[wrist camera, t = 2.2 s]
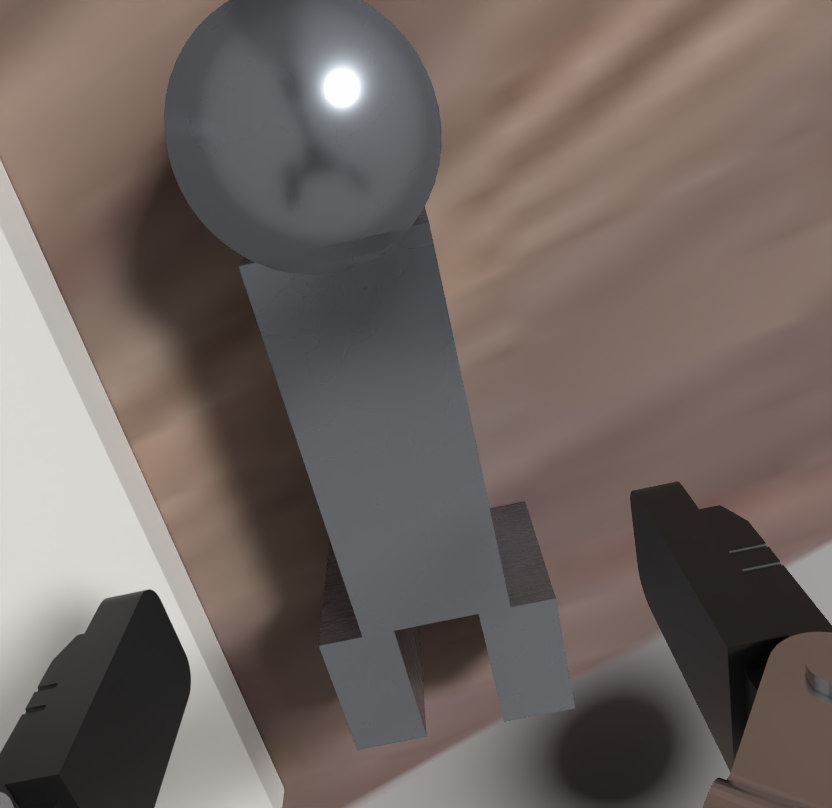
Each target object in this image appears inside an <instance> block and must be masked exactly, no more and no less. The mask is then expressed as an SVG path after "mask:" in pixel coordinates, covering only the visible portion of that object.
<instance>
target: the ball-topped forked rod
mask: <svg viewBox="0 0 832 808" xmlns="http://www.w3.org/2000/svg"><path fill="white" fill-rule="evenodd" d="M164 128H165V139H166V146H167V152H168V156H169V160H170V163H171V167H172V170H173V173H174V176H175V178H176V180H177V183H178V185H179V187H180V190H181V191H182V193H183V195H184V197H185V199H186V200H187V202H188V204H189V206H190V207H191V208H192V210H193V211H194V212H195V214H196V215H197V216H198V218H199V219H200V221H201V222H202V223H203V224H204V225H205V226H206V227H207V228H208V229H209V230H210V231H211V232H212V233H213V235H215V236H216V237H217V238H218V239H219V240H221V241H222V242H223V243H224V244H225V245H227V246H228V247H229V248H231V249H232V250H234V251H235V252H237V253H239V254H240V255H242V256H243V257H244V259H243V260H242V262H241V263H240V265H239V266H238V267H239V270H240V273H241V276H242V279H243V282H244V285H245V288H246V291H247V294H248V297H249V300H250V303H251V306H252V309H253V312H254V315H255V318H256V321H257V324H258V327H259V330H260V333H261V336H262V339H263V342H264V345H265V348H266V351H267V354H268V357H269V359H270V362H271V365H272V368H273V371H274V374H275V377H276V380H277V383H278V386H279V389H280V392H281V395H282V398H283V401H284V404H285V407H286V410H287V413H288V416H289V419H290V422H291V425H292V428H293V431H294V434H295V437H296V440H297V443H298V446H299V449H300V452H301V455H302V458H303V461H304V464H305V467H306V470H307V473H308V476H309V479H310V482H311V485H312V488H313V491H314V494H315V497H316V500H317V503H318V506H319V509H320V512H321V515H322V518H323V521H324V524H325V527H326V530H327V533H328V536H329V539H330V542H329V552H328V561H327V571H326V581H325V590H324V600H323V610H322V619H321V629H320V639H319V648H320V651H321V653H322V656H323V659H324V662H325V664H326V667H327V670H328V672H329V675H330V678H331V680H332V683H333V686H334V688H335V691H336V694H337V696H338V699H339V702H340V705H341V707H342V710H343V713H344V715H345V718H346V721H347V723H348V726H349V729H350V731H351V734H352V737H353V739H354V742H355V745H356V748H357V750H360V749H365V748H370V747H375V746H381V745H386V744H391V743H396V742H401V741H407V740H412V739H417V738H422V737H427V735H426V720H425V705H424V690H423V675H422V660H421V645H420V630H419V626H421V625H426V624H431V623H436V622H441V621H446V620H451V619H456V618H461V617H466V616H471V615H476V614H479V618H480V622H481V626H482V630H483V634H484V639H485V643H486V647H487V651H488V655H489V660H490V664H491V668H492V672H493V676H494V680H495V685H496V689H497V693H498V697H499V701H500V706H501V710H502V714H503V718H504V722H505V721H511V720H515V719H521V718H526V717H531V716H536V715H542V714H547V713H552V712H557V711H562V710H568V709H573V708H575V705H574V699H573V693H572V688H571V682H570V676H569V671H568V665H567V659H566V654H565V648H564V642H563V637H562V631H561V625H560V619H559V614H558V608H557V602H556V597H555V594H554V591H553V588H552V585H551V582H550V579H549V575H548V572H547V569H546V566H545V563H544V560H543V557H542V553H541V550H540V547H539V544H538V541H537V538H536V535H535V531H534V528H533V525H532V522H531V519H530V516H529V513H528V509H527V506H526V503H525V502H521V503H516V504H511V505H506V506H502V507H497V508H492V509H490V508H489V503H488V498H487V494H486V489H485V484H484V479H483V475H482V470H481V465H480V461H479V456H478V451H477V447H476V442H475V437H474V432H473V428H472V423H471V418H470V414H469V409H468V404H467V399H466V395H465V390H464V385H463V381H462V376H461V371H460V366H459V362H458V357H457V352H456V348H455V343H454V338H453V333H452V329H451V324H450V319H449V315H448V310H447V305H446V301H445V296H444V291H443V286H442V282H441V277H440V272H439V268H438V263H437V258H436V253H435V249H434V244H433V239H432V235H431V230H430V225H429V221H428V217H427V214H426V210H425V204H426V202H427V200H428V198H429V196H430V193H431V191H432V188H433V185H434V183H435V179H436V175H437V171H438V167H439V161H440V153H441V122H440V115H439V108H438V104H437V100H436V96H435V92H434V89H433V86H432V84H431V81H430V78H429V76H428V73H427V71H426V69H425V67H424V65H423V64H422V62H421V60H420V58H419V56H418V54H417V53H416V51H415V50H414V49H413V47H412V46H411V44H410V43H409V42H408V40H407V39H406V38H405V36H404V35H403V34H402V33H401V32H400V31H399V30H398V29H397V28H396V27H395V26H394V25H393V24H392V23H391V22H390V21H389V20H388V19H387V18H385V17H384V16H383V15H382V14H380V13H379V12H378V11H377V10H376V9H374V8H372V7H371V6H369V5H367V4H366V3H364V2H363V1H361V0H230V1H228V2H226V3H225V4H223V5H222V6H221V7H219V8H218V9H217V10H215V11H214V12H212V13H211V14H210V15H209V16H208V17H207V18H206V19H205V20H204V21H203V22H202V23H201V24H200V25H199V26H198V27H197V28H196V30H195V31H194V32H193V34H192V35H191V37H190V38H189V39H188V41H187V42H186V44H185V45H184V47H183V49H182V51H181V53H180V55H179V56H178V58H177V60H176V63H175V66H174V68H173V71H172V74H171V76H170V80H169V85H168V89H167V93H166V100H165V111H164Z"/></svg>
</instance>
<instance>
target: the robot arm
mask: <svg viewBox="0 0 832 808" xmlns="http://www.w3.org/2000/svg"><path fill="white" fill-rule="evenodd" d="M630 501H631V511H632V519H633V528H634V537H635V545H636V554H637V563H638V570H639V575H640V580H641V584H642V587H643V591H644V594H645V597H646V600H647V602H648V605H649V607H650V609H651V611H652V613H653V615H654V617H655V619H656V621H657V623H658V625H659V627H660V629H661V631H662V634H663V636H664V638H665V640H666V642H667V644H668V646H669V648H670V650H671V652H672V654H673V656H674V658H675V660H676V662H677V664H678V666H679V668H680V670H681V672H682V674H683V676H684V678H685V680H686V682H687V684H688V687H689V688H690V690H691V692H692V695H693V697H694V699H695V701H696V703H697V705H698V707H699V709H700V711H701V713H702V715H703V717H704V719H705V721H706V723H707V725H708V727H709V729H710V731H711V733H712V735H713V737H714V739H715V742H716V744H717V745H718V748H719V750H720V752H721V754H722V756H723V758H724V760H725V762H726V764H727V766H728V768H729V770H730V775H729V777H728V779H727V780H724V779H722V778H717V779H716V780H715V781H714V782H713V784H712V786H711V788H710V790H709V792H708V795H707V797H706V800H705V802H704V805H703V808H832V625H831V624H830V623H829V622H828V620H827V619H826V618H825V617H824V615H823V614H822V613H821V612H820V610H819V609H818V608H817V607H816V605H815V604H814V603H813V602H812V600H811V599H810V598H809V597H808V595H807V594H806V593H805V592H804V590H803V589H802V588H801V587H800V585H799V584H798V583H797V582H796V581H795V579H794V578H793V577H792V575H791V574H790V573H789V572H788V570H787V569H786V568H785V567H784V565H782V566H781V564H780V560H779V559H778V558H777V557H776V555H775V554H774V553H773V552H772V550H771V549H770V548H769V547H766V544H765V542H764V540H763V539H762V538H761V537H760V535H759V534H758V533H757V532H756V530H755V529H754V528H753V527H752V525H751V524H750V523H749V522H748V521H747V520H745V519H744V518H742V517H740V516H738V515H736V514H735V513H733V512H731V511H729V510H728V509H726V508H724V507H722V506H720V505H719V506H714V507H709V508H704V509H698V507H697V506H696V504H695V503H694V501H693V500H692V499H691V497H690V496H689V494H688V493H687V492H686V490H685V489H684V487H683V486H682V485H681V484H680V483H679V482H673V483H668V484H663V485H658V486H653V487H649V488H644V489H639V490H634V491H632V492H631V496H630ZM190 689H191V673H190V666H189V662H188V659H187V656H186V654H185V652H184V649H183V647H182V645H181V643H180V641H179V638H178V636H177V634H176V632H175V630H174V628H173V625H172V623H171V621H170V619H169V617H168V615H167V612H166V610H165V608H164V606H163V604H162V602H161V600H160V598H159V596H158V595H157V593H156V592H155V591H153V590H150V589H148V590H143V591H139V592H134V593H129V594H124V595H119V596H114V597H110V598H106V599H104V600H103V601H102V602H101V604H100V605H99V607H98V609H97V611H96V613H95V615H94V616H93V618H92V620H91V622H90V624H89V626H88V628H87V630H86V632H85V633H84V634H80V635H77V636H76V637H75V638H74V639H73V640H72V641H71V642H70V643H69V644H68V645H67V646H66V647H65V648H64V649H63V650H62V651H61V652H60V653H59V654H58V655H57V656H56V657H55V658H54V659H53V660H52V662H51V664H50V665H49V667H48V669H47V671H46V673H45V674H44V676H43V678H42V680H41V681H40V683H39V685H38V692H34V694H33V696H32V697H31V699H30V701H29V703H28V705H27V706H26V708H25V710H26V713H25V714H22V715H21V717H20V719H19V721H18V722H17V724H16V726H15V728H14V729H13V731H12V733H11V735H10V737H9V738H8V740H7V742H6V744H5V745H4V747H3V749H2V751H1V753H0V808H154V807H155V804H156V801H157V798H158V795H159V791H160V788H161V785H162V782H163V779H164V775H165V772H166V769H167V766H168V763H169V759H170V756H171V753H172V750H173V747H174V743H175V740H176V737H177V734H178V731H179V727H180V724H181V721H182V718H183V714H184V711H185V708H186V705H187V702H188V698H189V695H190Z"/></svg>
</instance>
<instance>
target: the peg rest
mask: <svg viewBox="0 0 832 808" xmlns="http://www.w3.org/2000/svg"><path fill="white" fill-rule="evenodd" d="M148 589H150V590H153V591H155V592H156V593H157V595H158V596H159V598H160V600H161V602H162V604H163V606H164V608H165V610H166V612H167V615H168V617H169V619H170V621H171V623H172V625H173V628H174V630H175V632H176V634H177V636H178V638H179V641H180V643H181V645H182V647H183V649H184V652H185V654H186V656H187V659H188V662H189V666H190V673H191V689H190V695H189V698H188V702H187V705H186V708H185V711H184V714H183V718H182V721H181V724H180V727H179V731H178V734H177V737H176V740H175V743H174V747H173V750H172V753H171V756H170V759H169V763H168V766H167V769H166V772H165V775H164V779H163V782H162V785H161V788H160V791H159V795H158V798H157V801H156V804H155V807H154V808H282V803H283V796H284V787H283V785H282V783H281V780H280V778H279V776H278V774H277V772H276V769H275V767H274V765H273V763H272V761H271V758H270V756H269V754H268V752H267V749H266V747H265V745H264V743H263V741H262V738H261V736H260V734H259V732H258V729H257V727H256V725H255V723H254V721H253V718H252V716H251V714H250V712H249V710H248V707H247V705H246V703H245V701H244V698H243V696H242V694H241V692H240V690H239V687H238V685H237V683H236V681H235V679H234V676H233V674H232V672H231V670H230V667H229V665H228V663H227V661H226V659H225V656H224V654H223V652H222V650H221V648H220V645H219V643H218V641H217V639H216V636H215V634H214V632H213V630H212V628H211V625H210V623H209V621H208V619H207V616H206V614H205V612H204V610H203V608H202V605H201V603H200V601H199V599H198V597H197V594H196V592H195V590H194V588H193V585H192V583H191V581H190V579H189V577H188V574H187V572H186V570H185V568H184V566H183V563H182V561H181V559H180V557H179V554H178V552H177V550H176V548H175V546H174V543H173V541H172V539H171V537H170V535H169V532H168V530H167V528H166V526H165V523H164V521H163V519H162V517H161V515H160V512H159V510H158V508H157V506H156V503H155V501H154V499H153V497H152V495H151V492H150V490H149V488H148V486H147V484H146V481H145V479H144V477H143V475H142V472H141V470H140V468H139V466H138V464H137V461H136V459H135V457H134V455H133V453H132V450H131V448H130V446H129V444H128V441H127V439H126V437H125V435H124V433H123V430H122V428H121V426H120V424H119V421H118V419H117V417H116V415H115V413H114V410H113V408H112V406H111V404H110V402H109V399H108V397H107V395H106V393H105V390H104V388H103V386H102V384H101V382H100V379H99V377H98V375H97V373H96V371H95V368H94V366H93V364H92V362H91V359H90V357H89V355H88V353H87V351H86V348H85V346H84V344H83V342H82V340H81V337H80V335H79V333H78V331H77V328H76V326H75V324H74V322H73V320H72V317H71V315H70V313H69V311H68V308H67V306H66V304H65V302H64V300H63V297H62V295H61V293H60V291H59V289H58V286H57V284H56V282H55V280H54V277H53V275H52V273H51V271H50V269H49V266H48V264H47V262H46V260H45V258H44V255H43V253H42V251H41V249H40V246H39V244H38V242H37V240H36V238H35V235H34V233H33V231H32V229H31V227H30V224H29V222H28V220H27V218H26V215H25V213H24V211H23V209H22V207H21V204H20V202H19V200H18V198H17V195H16V193H15V191H14V189H13V187H12V184H11V182H10V180H9V178H8V176H7V173H6V171H5V169H4V167H3V164H2V162H1V160H0V753H1V751H2V749H3V747H4V745H5V744H6V742H7V740H8V738H9V737H10V735H11V733H12V731H13V729H14V728H15V726H16V724H17V722H18V721H19V719H20V717H21V715H22V714H25V713H26V710H25V708H26V706H27V705H28V703H29V701H30V699H31V697H32V696H33V694H34V692H38V685H39V683H40V681H41V680H42V678H43V676H44V674H45V673H46V671H47V669H48V667H49V665H50V664H51V662H52V660H53V659H54V658H55V657H56V656H57V655H58V654H59V653H60V652H61V651H62V650H63V649H64V648H65V647H66V646H67V645H68V644H69V643H70V642H71V641H72V640H73V639H74V638H75V637H76V636H77V635H80V634H84V633H85V632H86V630H87V628H88V626H89V624H90V622H91V620H92V618H93V616H94V615H95V613H96V611H97V609H98V607H99V605H100V604H101V602H102V601H103V600H104V599H106V598H110V597H114V596H119V595H124V594H129V593H134V592H139V591H143V590H148Z"/></svg>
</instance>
